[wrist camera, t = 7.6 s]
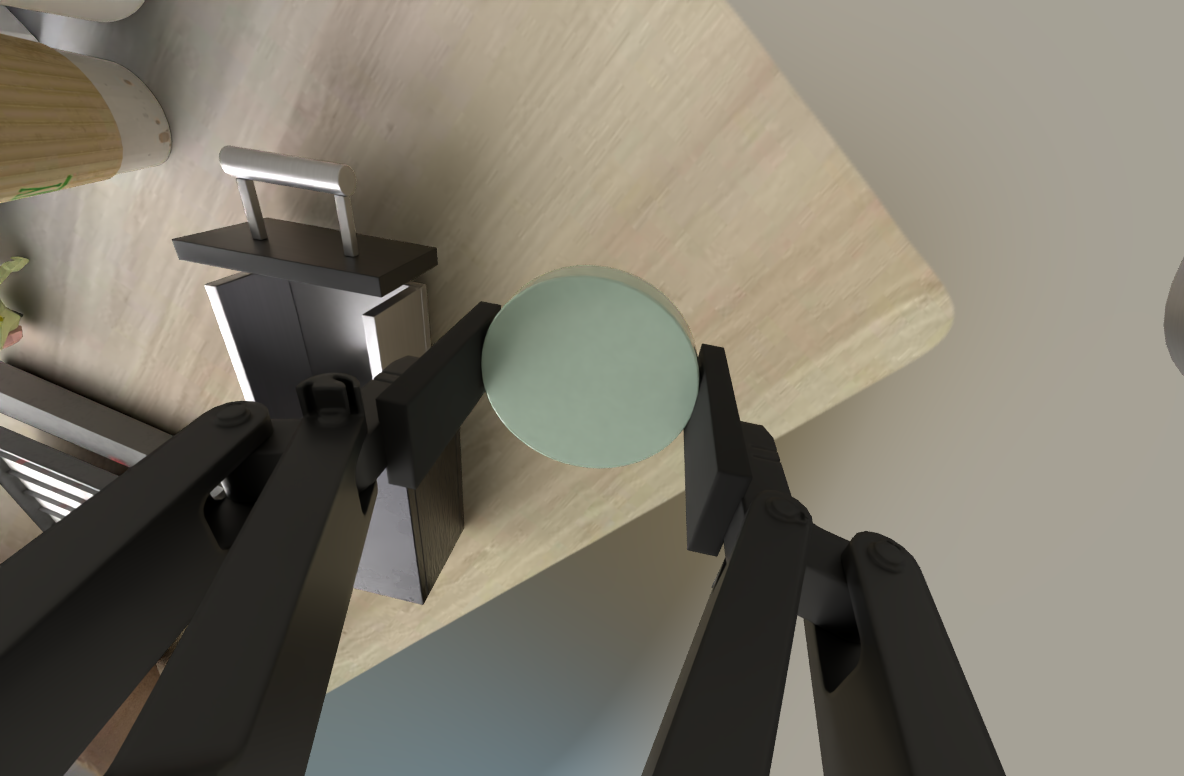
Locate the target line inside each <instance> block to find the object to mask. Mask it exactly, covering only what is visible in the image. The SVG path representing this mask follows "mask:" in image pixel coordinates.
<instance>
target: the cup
mask: <svg viewBox="0 0 1184 776" xmlns="http://www.w3.org/2000/svg"><path fill="white" fill-rule="evenodd" d="M144 1H145V0H0V5H5V6H11V7H16V8H22V9H27V10H33V11H39V12H44V13H50V14H56V15H61V16H67V17H73V18H78V19H84V20H90V21H96V22H113V21H118V20H121V19H124V18H126V17H128V16H130V15H132V14H133V13H134V12H136V11H137V10H138V9H139V8H140V7H141V6H142V4H143V3H144Z"/></svg>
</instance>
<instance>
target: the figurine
mask: <svg viewBox="0 0 1184 776" xmlns="http://www.w3.org/2000/svg"><path fill="white" fill-rule="evenodd" d="M11 259H13V260H14V261H11V262H9V261H7V262H5V263H3V264H2V265H1V266H0V285H1V283H2V282H3V281H4V280H5V279H6V278H7V277H8V275H9V274H10V273H11V272H12V271H14V272H17V271H19V270H21V269H22V268H23V267H24V266H25V265H26V264H27V263H28V262H29V260H28V259H26V258H23V257H19V256H17V257H11ZM20 317H23V314H21V313H18V312H16V311H13V310H10V309H9V308H7V307H5V305H4V304H3V302H2V301H1V299H0V350H2V349H4V348H7V347H9V346H11V345H13V344H15V343H17V342H18V341H19V340H20V339H21V338H22V337H23V334H22V327H21V326H20V325H19V321H20Z"/></svg>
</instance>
